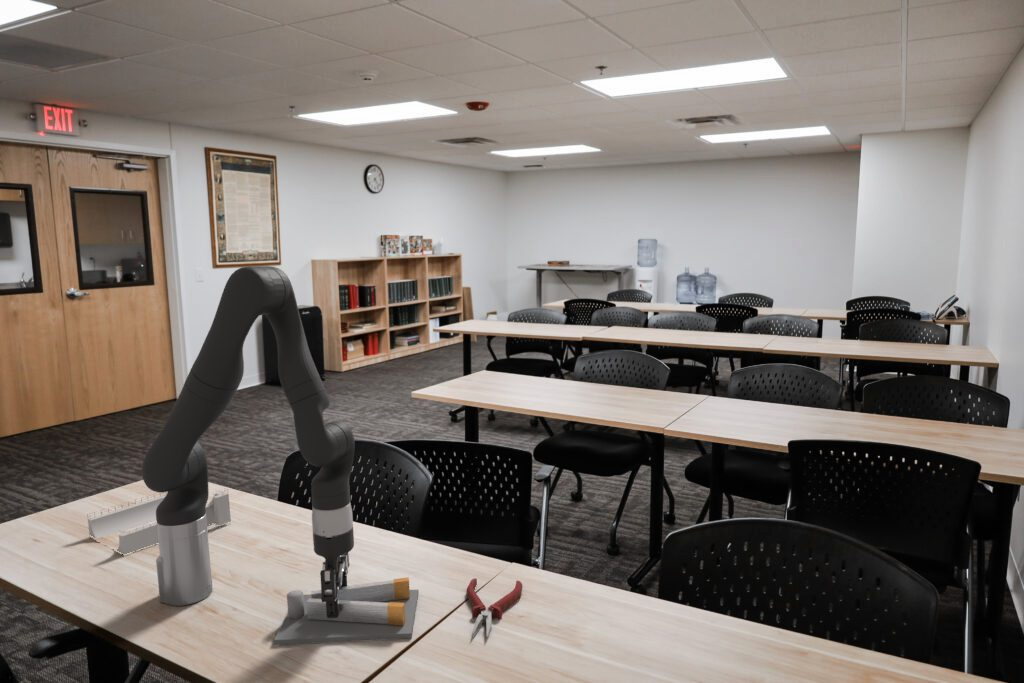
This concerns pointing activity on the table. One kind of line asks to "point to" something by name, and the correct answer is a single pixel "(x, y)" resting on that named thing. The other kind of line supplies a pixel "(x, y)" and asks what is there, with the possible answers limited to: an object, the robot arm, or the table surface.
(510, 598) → the pliers
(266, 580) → the table surface
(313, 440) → the robot arm
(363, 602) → the leg
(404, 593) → the leg
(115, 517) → the skate ramp
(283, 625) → the mat
